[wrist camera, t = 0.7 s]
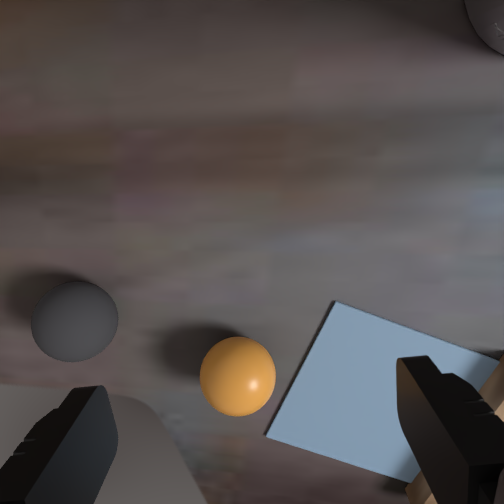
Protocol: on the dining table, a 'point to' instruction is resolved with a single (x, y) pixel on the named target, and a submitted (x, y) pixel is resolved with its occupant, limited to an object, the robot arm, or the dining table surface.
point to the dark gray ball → (74, 321)
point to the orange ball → (237, 376)
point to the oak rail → (500, 400)
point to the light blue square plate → (363, 390)
